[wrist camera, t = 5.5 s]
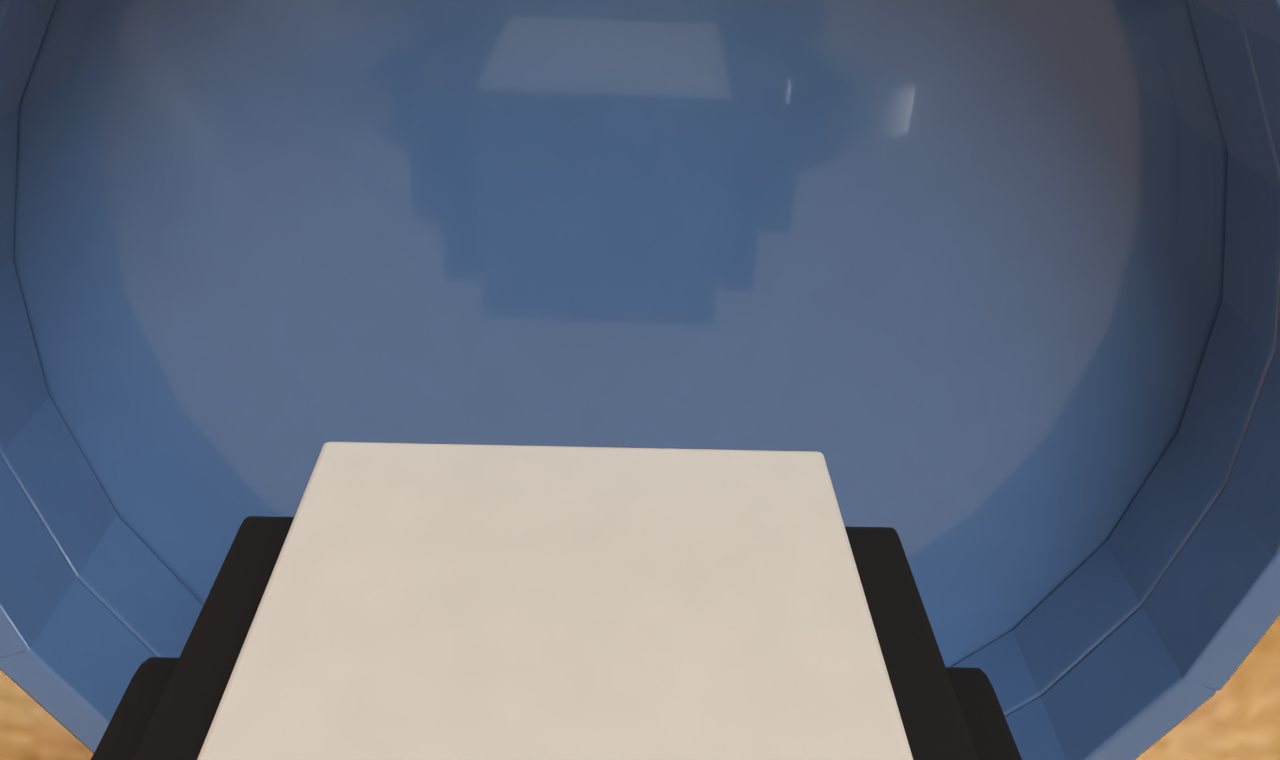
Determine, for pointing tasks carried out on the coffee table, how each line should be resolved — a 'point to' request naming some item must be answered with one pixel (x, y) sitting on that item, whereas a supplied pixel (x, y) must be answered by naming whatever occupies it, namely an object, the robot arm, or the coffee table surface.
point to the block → (561, 612)
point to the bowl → (660, 299)
